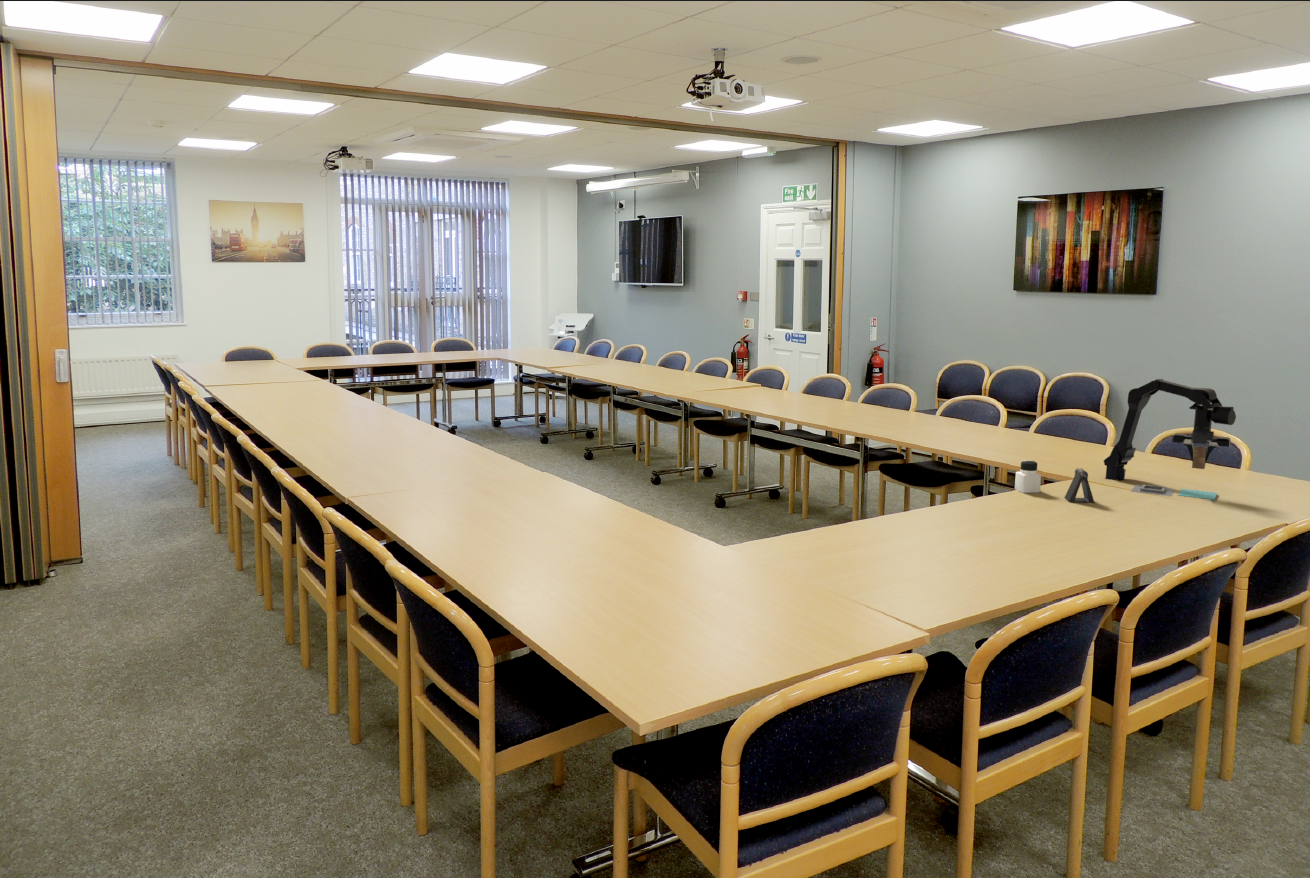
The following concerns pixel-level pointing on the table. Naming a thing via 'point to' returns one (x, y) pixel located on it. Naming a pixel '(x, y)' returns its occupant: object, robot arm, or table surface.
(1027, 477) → the medicine bottle
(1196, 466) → the walnut block
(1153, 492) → the holder
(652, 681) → the table surface
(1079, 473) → the phone stand
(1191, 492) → the mat
